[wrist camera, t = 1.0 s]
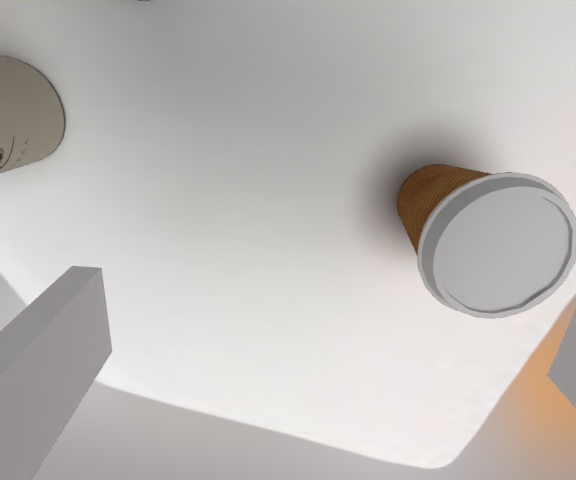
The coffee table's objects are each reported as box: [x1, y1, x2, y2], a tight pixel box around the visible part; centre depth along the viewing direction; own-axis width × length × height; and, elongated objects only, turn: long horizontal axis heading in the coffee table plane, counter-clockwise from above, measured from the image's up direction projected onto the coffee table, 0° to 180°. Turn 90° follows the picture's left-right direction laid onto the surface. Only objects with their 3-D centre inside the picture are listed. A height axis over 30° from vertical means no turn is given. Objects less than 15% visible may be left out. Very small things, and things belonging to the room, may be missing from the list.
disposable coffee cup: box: [397, 164, 576, 319], centre depth 29 cm, size 10×10×12 cm
